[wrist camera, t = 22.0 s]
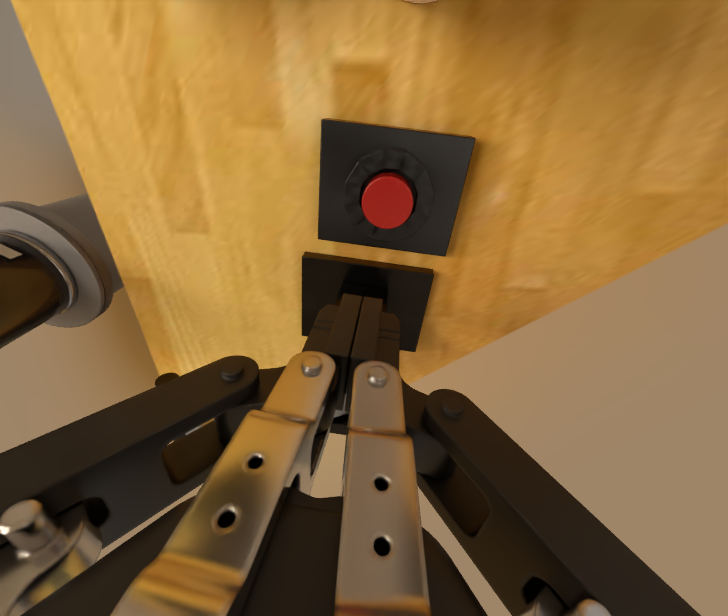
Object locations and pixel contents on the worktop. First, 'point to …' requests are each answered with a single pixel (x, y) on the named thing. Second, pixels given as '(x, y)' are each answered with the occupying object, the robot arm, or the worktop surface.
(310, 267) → the lever bracket
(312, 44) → the worktop surface
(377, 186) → the button
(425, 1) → the cylindrical container
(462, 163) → the block
